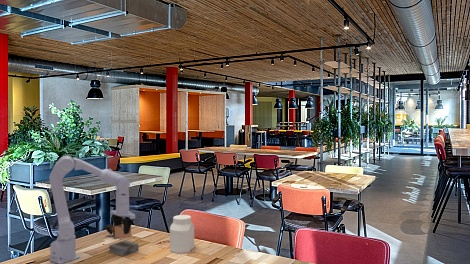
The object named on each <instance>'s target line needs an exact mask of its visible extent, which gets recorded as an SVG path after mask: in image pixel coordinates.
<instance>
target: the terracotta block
mask: <svg viewBox="0 0 470 264" xmlns="http://www.w3.org/2000/svg"><path fill="white" fill-rule="evenodd" d="M114 236H115V237H117V239H121V240H124V239H126V238H130V237H132V226H131V227H130V231H129V233H128V234H124V226H123V224H121V225H117V226H115V234H114Z"/></svg>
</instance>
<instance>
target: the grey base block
mask: <svg viewBox="0 0 470 264" xmlns="http://www.w3.org/2000/svg"><path fill="white" fill-rule="evenodd" d="M108 248H109V253H111V254H114V255H116V256H121V257H124V256H126V255H130V254H133V253H136V252H138V251H139V243H137V242H135V241H134V242H133V241H130V240H123V241H119V242H115V243H112V244H110V245H109V247H108Z"/></svg>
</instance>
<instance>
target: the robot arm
mask: <svg viewBox="0 0 470 264" xmlns="http://www.w3.org/2000/svg"><path fill="white" fill-rule="evenodd" d="M73 169H74V171H79V170H82V171H85V172H87V173H89V174H93V175H95V176H97V177H98V178H99V181H101V182H103V183H105V184H108V185H111V186H112V187H115V189H116V190H115V191H116V192H115V209H114V210H110V216H111V218H110V220H112V222H113V225H115V226H117V225H121V224H122V222H123V226H124V234H128V233H129V231H130V227H131V228H132V225H133V222H134V220H135V219H136V214H135V213H133V212H132V211H130V193H129V191H130V186H131V183H130V180H129V178H127V177H126V176H124V175H122V174H121V173H117V172H115V171H113V169H111V168H104V169H101V168H99V167H97V166H95V165H93V164H91V163H88V162H86V161H84V160H83V159H79V158H77V157H72V156H70V155H68V154H67V155H63V156H61V157H60V158H59V159H58V160H57V161H56V162H55V164H54V166H53V168H52V170H51V172H50V174H49V177H48V178H49V183H50V189H51V194H52V198H53V202H54V206H55V210H56V211H55V212H56V217H57V221H58V222H57V223H58V231H57V235H58V236H57V238H56V240H54V241H52V242H51V243H50V247H49V251H50V252H49V253H50V254H49V256H50V258H49V259H48V260H49V261H50V262H53V263H55V264H64V263H67V262H71V261H74V260H76V259H80V258H81V256H80V255H77V252H76V249H77V248H76V239H77V238H76V235H75V232H76V231H75V224H74V223H73V221H72V220H71V216H70V213H69V209H68V204H67V199H66V193H65V190H64V189H65V188H64V185H63V181H62V180H63V179H64V178H65V176H66V175H67V174H68V173H70V172H71V171H72V170H73Z"/></svg>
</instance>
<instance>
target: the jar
mask: <svg viewBox="0 0 470 264" xmlns="http://www.w3.org/2000/svg"><path fill="white" fill-rule="evenodd" d="M172 220H173V221H172V223H171V224H170V227H169V252H171V253H174V254H187V253H191V250H193V249H194V248H195V225H194V223H193V222H192V216H191V215H188V214H178V215H175V216H173V218H172Z"/></svg>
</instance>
